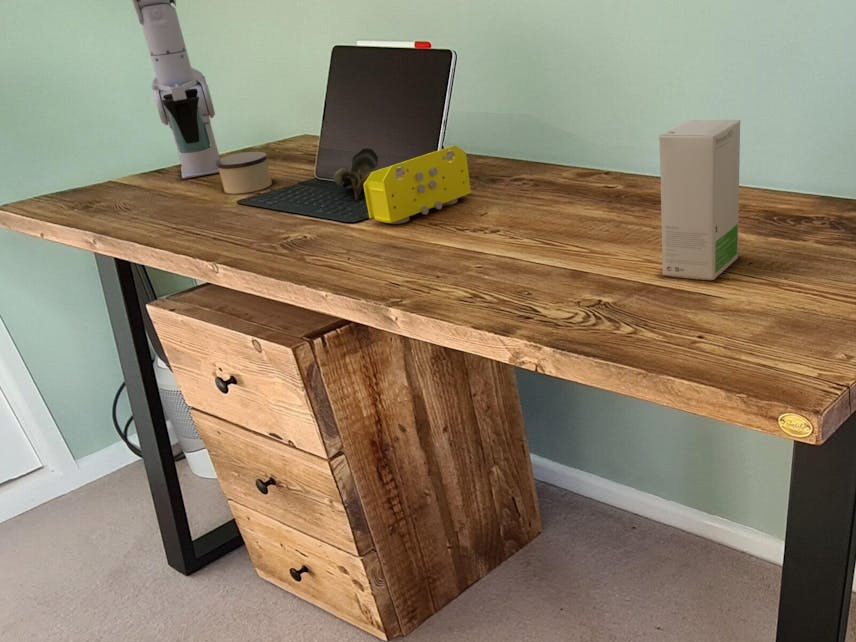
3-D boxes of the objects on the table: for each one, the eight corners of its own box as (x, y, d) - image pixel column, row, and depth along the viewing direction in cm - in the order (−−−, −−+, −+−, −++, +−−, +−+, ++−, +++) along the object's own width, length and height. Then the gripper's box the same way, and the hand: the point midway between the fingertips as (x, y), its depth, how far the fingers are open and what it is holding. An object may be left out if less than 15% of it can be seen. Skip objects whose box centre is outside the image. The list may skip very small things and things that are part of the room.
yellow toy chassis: (394, 229, 128) (383, 169, 124) (369, 223, 132) (358, 165, 127) (473, 198, 138) (466, 142, 133) (448, 194, 141) (441, 139, 137)
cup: (179, 149, 155) (167, 109, 151) (210, 143, 156) (199, 104, 152) (179, 154, 150) (167, 114, 147) (211, 149, 152) (200, 108, 148)
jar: (221, 186, 162) (214, 157, 159) (270, 177, 164) (263, 148, 161) (224, 197, 155) (216, 167, 152) (275, 187, 157) (268, 158, 154)
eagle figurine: (390, 188, 143) (390, 165, 150) (358, 155, 139) (359, 132, 146) (355, 217, 146) (356, 193, 153) (323, 186, 142) (326, 162, 148)
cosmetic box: (713, 282, 99) (715, 136, 91) (657, 276, 102) (654, 134, 94) (740, 257, 105) (744, 117, 97) (686, 252, 108) (686, 116, 100)
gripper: (143, 51, 150) (168, 135, 157) (141, 60, 138) (168, 151, 145) (186, 45, 152) (209, 129, 159) (188, 54, 140) (212, 143, 147)
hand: (192, 139), depth 152 cm, fingers closed on cup, 5 cm apart
